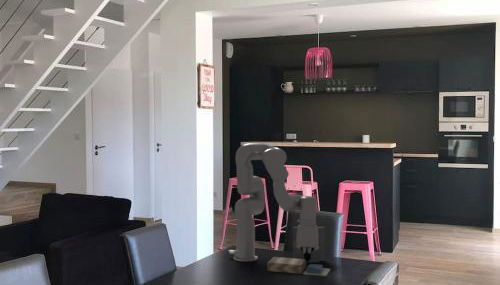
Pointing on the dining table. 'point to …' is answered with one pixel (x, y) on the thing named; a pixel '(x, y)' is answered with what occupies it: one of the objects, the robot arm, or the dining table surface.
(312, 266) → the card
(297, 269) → the deck
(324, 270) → the mat
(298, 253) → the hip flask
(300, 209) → the robot arm
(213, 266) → the dining table surface
